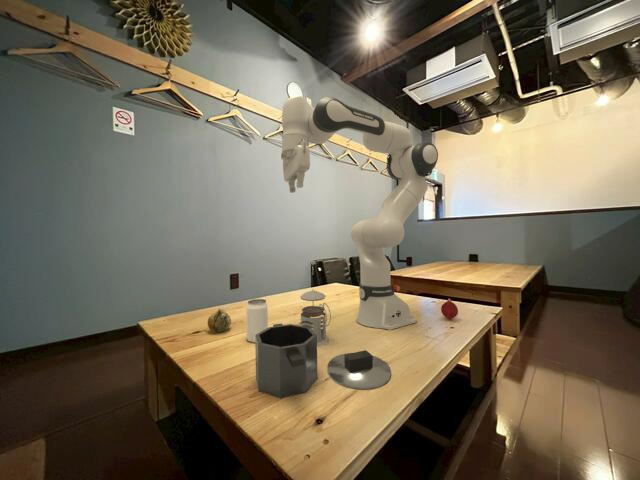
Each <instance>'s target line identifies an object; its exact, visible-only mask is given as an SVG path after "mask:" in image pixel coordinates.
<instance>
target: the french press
mask: <svg viewBox="0 0 640 480" xmlns="http://www.w3.org/2000/svg"><path fill="white" fill-rule="evenodd" d="M316 264H317V262H316V261H315V260H314V259H313V260H310V261H309V265H311V266H312V273H311V274H314V265H316ZM326 297H327V295H325V294H324V293H322V292H320V291H318V290H317V291H316V290H309V291H306V292H304V293H302V294H301V295H300V296H299V298H300V300H303V301H307V302H318V301H323V300H325V298H326ZM325 306H326V307H327V309H328V311H329V312H328V313H329V321H328V317H327V316H328V315H327V311H326V309H325ZM301 311H302V312H301V313H300V326H306V327H310V328H311V329H312V330H313V332H314V333H315V334H316V335H317V347H321V346H325V345H327V344H328V343H329V341H330V339H329V337H328V336H327V334H326V332H327V330H326V329H327V327H328V326H329V325H330V323H331V318H332V317H331V315H332V313H331V309H330V307H329V305H328V304H327V303H326V302H323V304H322V303H319V305H318V306H317V305H314V304H312V305H306V306H304V307H302V308H301ZM327 321H328V323H327Z"/></svg>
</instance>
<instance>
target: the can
mask: <svg viewBox="0 0 640 480" xmlns="http://www.w3.org/2000/svg"><path fill="white" fill-rule="evenodd" d="M268 311H269V310H268V304H267V300H266V299H263V298H259V299H258V298H255V299H250V300H248V301H247V306H246V340H247V341H248V342H250V343H252V344H254V343H255V335H256V334H258V333H260V332H261V331H263V330H265V329H267V328H269V325H268V322H269V321H268V319H269V317H268ZM255 344H256V343H255Z"/></svg>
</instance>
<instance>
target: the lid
mask: <svg viewBox="0 0 640 480" xmlns="http://www.w3.org/2000/svg"><path fill="white" fill-rule="evenodd" d="M326 368H327V369H326V370H327V375H328V377H329V378H330V379H331V380H332V381H333V382H334V383H336V384H338V385H340V386H342V387H344V388H348V389H351V390H357V391H359V390H360V391H367V390H375V389H379V388H382V387H383V386H385V385H386V384H387V383H388V382H390V379H391V376H392V371H391V367H390V365H389V364H388V363H387V362H386V361H385V360H383V359H382V358H380V357H378V356H375V355H372V354H371V353H370V352H369V351H368V350H361V351H360V350H359V351H355V352H347V353H341V354H338V355H336V356H334V357H333V358H331V359H329V361H328V364H327V367H326Z"/></svg>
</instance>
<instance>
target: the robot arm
mask: <svg viewBox="0 0 640 480" xmlns="http://www.w3.org/2000/svg"><path fill="white" fill-rule="evenodd" d="M281 127H282V131H283V132H282V133H283V134H282V136H281V139H282V140H281V143H282V145H281V153H280V154H281V157H280V158H281V160H282V170H283V172H282V173H283V179H284V181H285V183H286V182H287V183H288V187H289V193H291V194H294V193H296V187H297V189H301V188H304V179H305V176H306V172H308V170H310V167H311V158H310V157H311V156H310V144H314V145H323V144H325V143H327V142H328V140H330V139H331V138H332V137H333V136H334V135H335V134H336V133H337V132H339V131H341V130H351V131H354V132H359V133H362V137H361V138H362V143H363V145H364V147H365V148H366V149H367V150H369V151H370V152H375V153H380V154H382V153H383V154H387V157H386V170H387V171H386V172H387V173H388V175H389V177H391V179H393V180H400V182H399V184H398V185H396V186H395V188H394V189H393V190H392V191H391V192H390V194H388V196H387V197H386V198H385V199H384V200H383V201H382V203H381V210H380V212H379V214H378V215H376V216H375V217H373V218H370V219H369V218H368V219H362V220H359V221H358V222H356V223H355V224H354V225H353V226H352V228H351V231H350V235H351V239H352V241H353V242H354V244H355V247H356V250H357V253H358V254H357V255H358V259H359V263H360V264H359V265H360V266H359V267H360V269H359V272H360V283H359V289H358V290H359V292H358V293H359V307H358V312H357V317H356V322H357V323H358V324H359V325H363V326H365V327H369V328H377V329H383V330H390V331H391V330H394V329H398V328H401V327H405V326H408V325H412V324H414V323H415V324H416V323H417V318H416V317H415V316H413V315H411V313H410V312H411V311H410V308H409V305H408V303H407V302H405V301H404V300H403V299H402V298H400V297H399V296H398V295H396V293H395V291H396V292H400V291H401V287H400V286H399V285H392V284H391V262H390V261H389V260H388V259H387V257H386V255H385V251H384V249H388V248H392V247H397V246H398V245H400V244H401V243H402V242H403V240H404V238H405V227H404V225H405V222H406V220H407V219H408V218H409V217H410V215H411V214H412V213H413V211H414V210H416V207H418V205H419V204H420V203H421V201H422V199H423V198H424V196H425V195H426V192H427V191H428V186H429V185H428V182H427V180H426V177H429V176H430V175H432V173H433V169H434V168H435V167H436V165H437V163H438V159H439V152H438V149H437V147H436V145H434V144H433V143H432V142H430V141H429V142H428V141H424V142H423V141H422V142H419V143H417V144H415V145H413V144H412V139H413V137H412V136H413V135H412V132H411V130H410V129H409V128H407V127H406V126H403V125H401V124H398V123H394V122H392V121H386V120H384V119H383V118H381V117H380V116H378V115H376V114H374V113H370V112H367V111H365V110H361V109H358V108H355V107H352V106H349V105H348V104H346V103H344V102H343V101H341V100H340V99H338V98H336V97H333V96H326V97H325V96H324V97H322V98H321V99H320V100H319V101H318V102H317V103H316V105H315V107H313V106H312V105H311V104H310V103H309V102H308V100H307V99H306V97H304V96H302V95H295V96H294V95H293V96H291V97H288V99H286V100H285V102H284V103H283V106H282V115H281Z"/></svg>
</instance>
